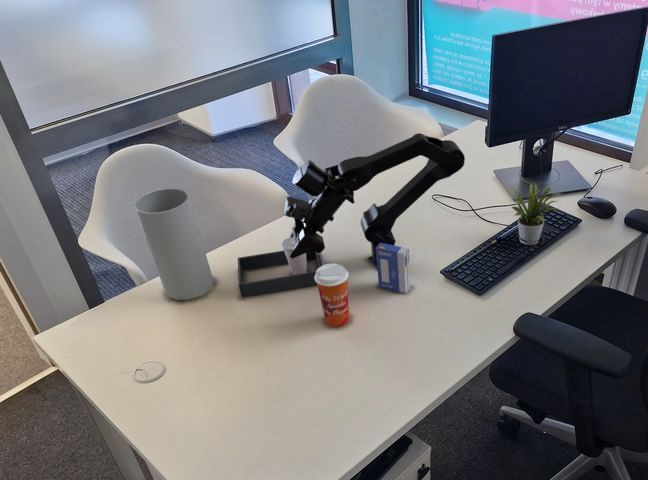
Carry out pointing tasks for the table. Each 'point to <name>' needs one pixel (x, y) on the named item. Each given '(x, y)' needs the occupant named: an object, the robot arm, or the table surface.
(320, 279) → the paper cup
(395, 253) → the walkman
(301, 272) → the smoothie
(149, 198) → the cylinder vase
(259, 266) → the rectangular tray
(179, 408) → the table surface
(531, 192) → the house plant
